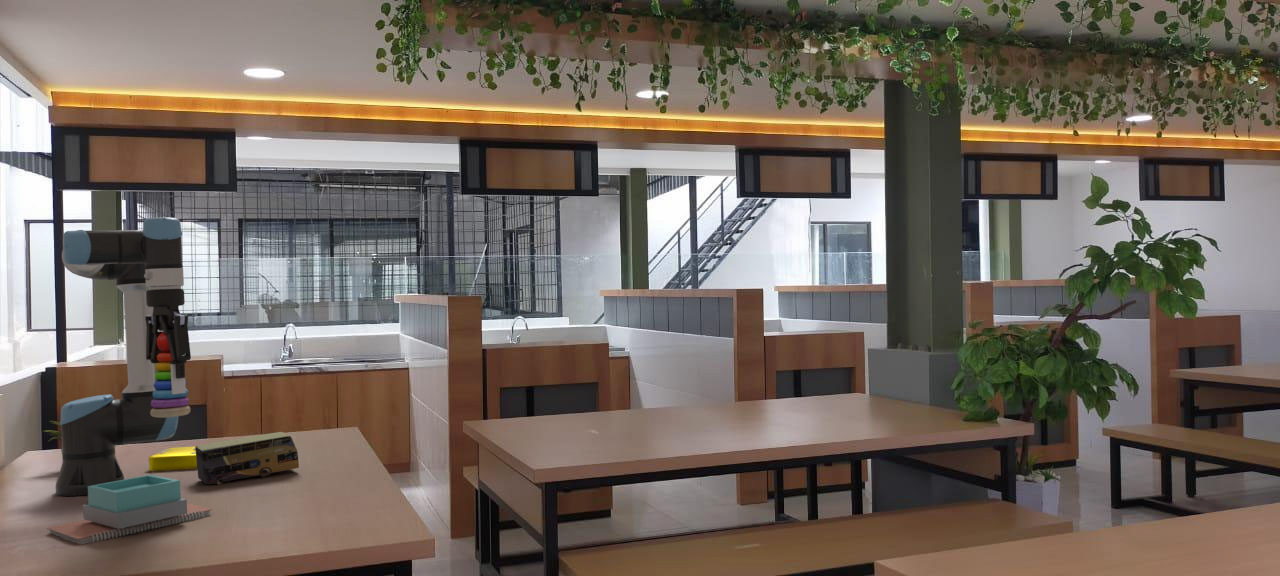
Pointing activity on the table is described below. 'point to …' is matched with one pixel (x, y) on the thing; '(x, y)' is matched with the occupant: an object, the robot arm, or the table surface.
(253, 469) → the toy bus
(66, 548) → the table surface
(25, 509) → the table surface
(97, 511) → the brick base
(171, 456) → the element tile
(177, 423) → the robot arm
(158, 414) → the stacking toy
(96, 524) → the notebook
